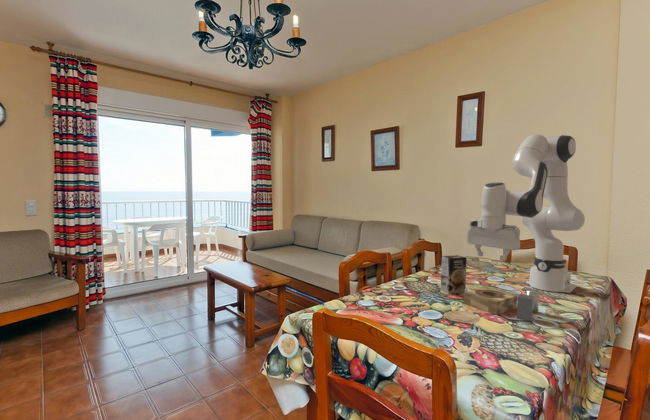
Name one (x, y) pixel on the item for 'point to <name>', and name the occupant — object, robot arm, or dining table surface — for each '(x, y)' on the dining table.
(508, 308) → the bore block
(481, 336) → the dining table surface
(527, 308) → the square bit
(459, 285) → the coffee box
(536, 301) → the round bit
